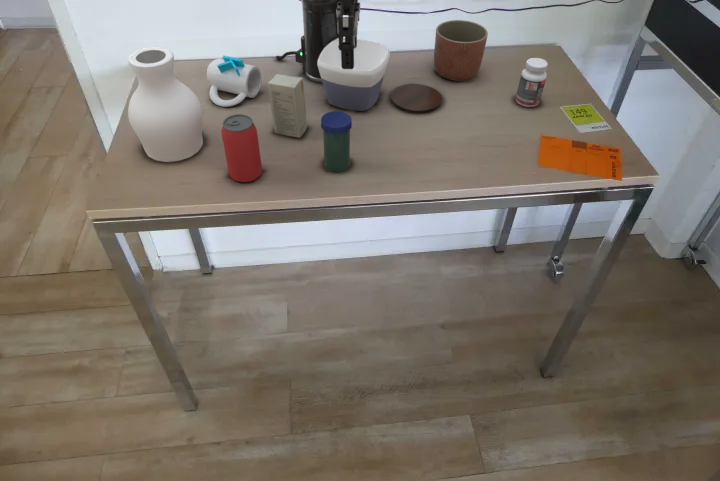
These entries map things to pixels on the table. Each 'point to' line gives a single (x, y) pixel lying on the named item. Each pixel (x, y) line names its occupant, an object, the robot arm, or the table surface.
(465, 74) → the planter
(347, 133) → the jar
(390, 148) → the table surface
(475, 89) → the table surface
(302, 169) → the table surface
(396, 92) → the trivet
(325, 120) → the lid
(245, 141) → the beer can
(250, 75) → the mug
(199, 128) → the vase
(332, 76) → the bowl
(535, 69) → the pill bottle
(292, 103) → the cosmetic box
